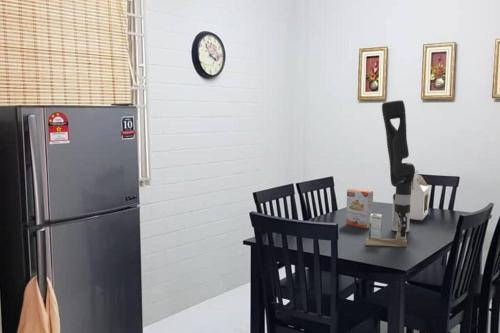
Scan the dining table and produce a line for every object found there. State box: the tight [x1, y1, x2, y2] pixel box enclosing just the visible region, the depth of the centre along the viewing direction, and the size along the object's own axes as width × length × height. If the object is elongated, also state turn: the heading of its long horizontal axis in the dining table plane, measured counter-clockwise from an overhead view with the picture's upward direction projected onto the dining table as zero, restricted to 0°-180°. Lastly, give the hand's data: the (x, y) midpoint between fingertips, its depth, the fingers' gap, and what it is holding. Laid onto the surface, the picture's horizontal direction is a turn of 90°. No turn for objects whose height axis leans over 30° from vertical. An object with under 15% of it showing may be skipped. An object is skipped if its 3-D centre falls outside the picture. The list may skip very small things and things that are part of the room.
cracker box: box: [345, 188, 374, 230], centre depth 287 cm, size 14×6×21 cm, turn 45°
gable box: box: [410, 170, 430, 221], centre depth 314 cm, size 22×13×28 cm, turn 153°
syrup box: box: [368, 213, 383, 239], centre depth 251 cm, size 6×6×14 cm
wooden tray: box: [365, 226, 408, 247], centre depth 254 cm, size 16×20×8 cm
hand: (401, 234), depth 253 cm, fingers open, 8 cm apart
